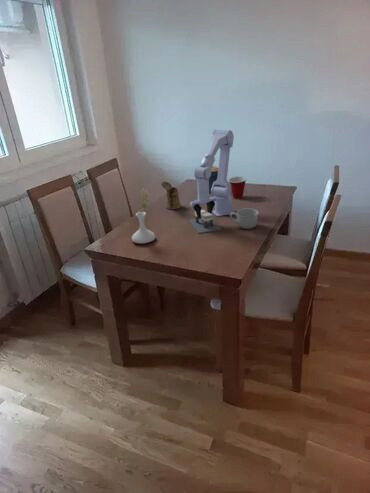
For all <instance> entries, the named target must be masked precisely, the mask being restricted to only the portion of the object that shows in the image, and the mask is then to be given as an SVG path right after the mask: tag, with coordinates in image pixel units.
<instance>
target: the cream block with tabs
mask: <svg viewBox="0 0 370 493" xmlns="http://www.w3.org/2000/svg"><path fill="white" fill-rule="evenodd" d="M194 217H195V218H194V219H195V220H196V223H199V218H198V217H197V214H196V211H195V210H194ZM201 220H202V221H204V228H207V221H208V220H210V226H211V227H212V226H213V220H214V214H212V213H211V214H210V213H209V212H207V210H205V209H201Z"/></svg>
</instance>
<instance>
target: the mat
mask: <svg viewBox="0 0 370 493" xmlns="http://www.w3.org/2000/svg"><path fill="white" fill-rule="evenodd" d="M188 222H189V224H190V225H191V226H192V227H193V229H194V231H196V233H197V234H199V235H200V234H207V233H212V232H219V231H222V228H221V227H220V225H218V223H216V221H215V220H214V219H213V226H212V227H211V226H210V220H208V221H207V228H204V221H202V220H201V219H199V223H196V220H195V218H194V219H193V218H192V219H188Z"/></svg>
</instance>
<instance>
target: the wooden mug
mask: <svg viewBox="0 0 370 493" xmlns="http://www.w3.org/2000/svg"><path fill="white" fill-rule="evenodd" d="M160 185H161V186H162V188H163V189H164V190H166V194H165V195H166V201H165V202H166V203H165V209H167V210H173V211H174V210H178V209H180V208H181V206H182V205H181V202H180V197H179V190H178V187H175V186H174V187H173V186H172V184H171V183H169V182H167V181H163V182H161V184H160Z"/></svg>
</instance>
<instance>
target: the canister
mask: <svg viewBox="0 0 370 493" xmlns="http://www.w3.org/2000/svg"><path fill="white" fill-rule="evenodd" d="M218 168H219V167H218V166H216V165H213V166H212V168H211V169H212V171H211V176H210V178H209V194H211V188H212V185H213V182H215V181H216V180H217V177H218ZM219 186H221V185H219Z"/></svg>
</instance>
